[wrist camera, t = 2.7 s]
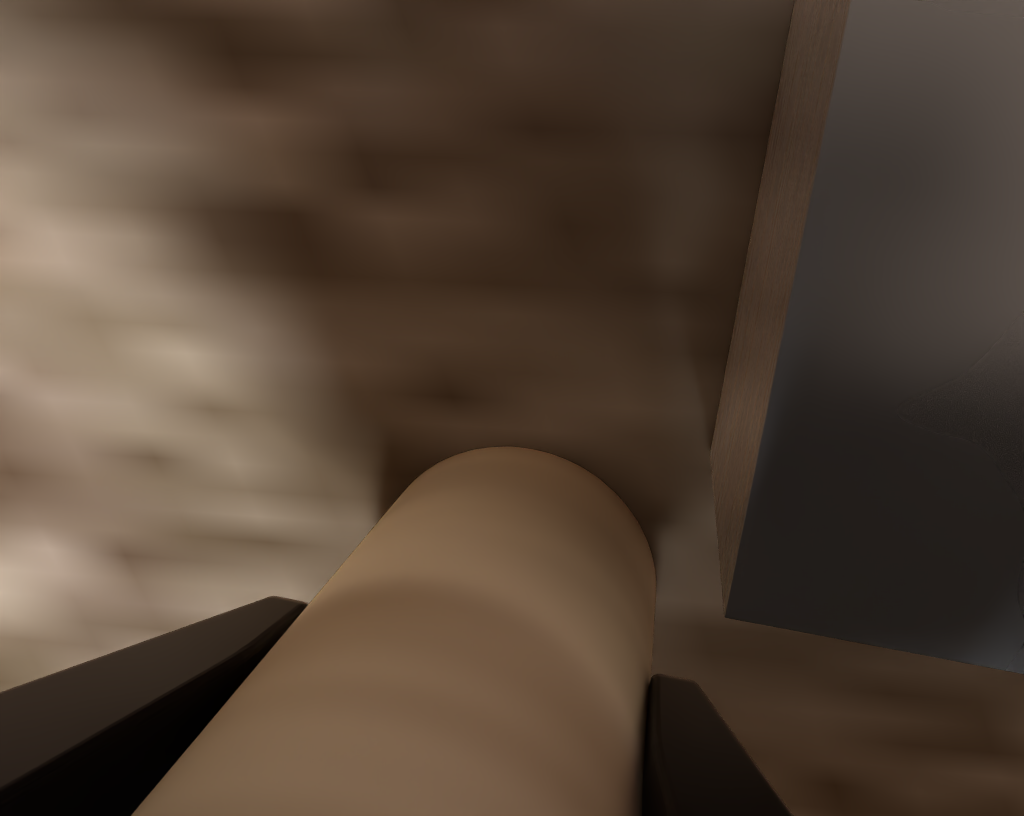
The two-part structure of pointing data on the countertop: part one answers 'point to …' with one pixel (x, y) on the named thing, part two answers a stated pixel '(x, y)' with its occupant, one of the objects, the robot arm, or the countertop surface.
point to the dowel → (451, 663)
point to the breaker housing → (884, 338)
